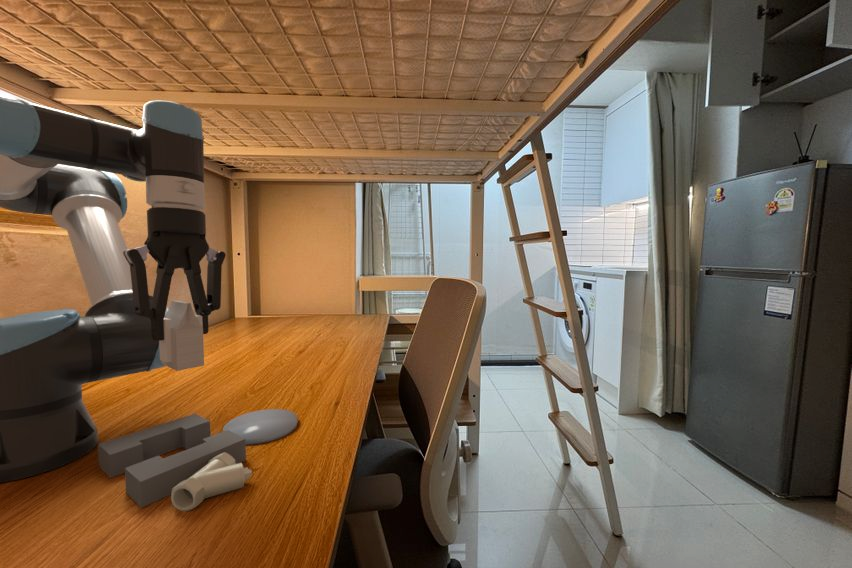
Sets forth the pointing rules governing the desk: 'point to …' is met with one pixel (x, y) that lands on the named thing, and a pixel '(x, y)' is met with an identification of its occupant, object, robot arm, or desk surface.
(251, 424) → the blue-grey round plate
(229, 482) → the pipe fitting
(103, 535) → the desk surface
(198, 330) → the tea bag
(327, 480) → the desk surface
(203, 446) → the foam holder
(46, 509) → the desk surface
